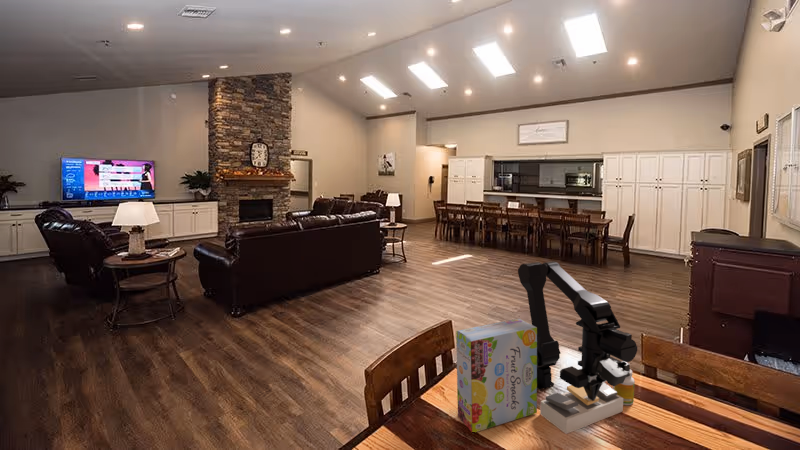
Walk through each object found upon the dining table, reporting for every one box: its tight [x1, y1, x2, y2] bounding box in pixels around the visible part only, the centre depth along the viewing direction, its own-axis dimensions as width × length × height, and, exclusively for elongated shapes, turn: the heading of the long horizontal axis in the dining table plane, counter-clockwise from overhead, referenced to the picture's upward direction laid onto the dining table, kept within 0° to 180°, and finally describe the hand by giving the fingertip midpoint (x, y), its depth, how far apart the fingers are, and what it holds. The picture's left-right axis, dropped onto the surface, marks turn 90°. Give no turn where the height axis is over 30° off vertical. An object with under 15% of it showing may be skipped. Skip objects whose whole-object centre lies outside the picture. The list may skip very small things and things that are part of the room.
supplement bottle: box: [612, 368, 635, 406], centre depth 111 cm, size 5×5×10 cm
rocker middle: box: [566, 384, 599, 405], centre depth 105 cm, size 7×4×1 cm, turn 25°
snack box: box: [455, 318, 538, 433], centre depth 104 cm, size 22×9×26 cm, turn 111°
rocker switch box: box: [539, 391, 624, 435], centre depth 105 cm, size 9×22×4 cm, turn 114°
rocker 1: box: [545, 392, 578, 410], centre depth 102 cm, size 7×4×1 cm, turn 24°
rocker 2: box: [598, 382, 617, 399], centre depth 108 cm, size 7×4×1 cm, turn 25°
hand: (591, 400), depth 102 cm, fingers closed, pressing on rocker middle
